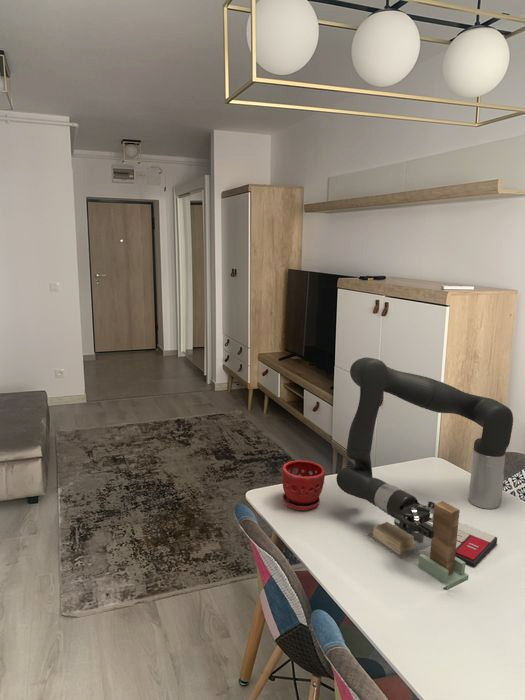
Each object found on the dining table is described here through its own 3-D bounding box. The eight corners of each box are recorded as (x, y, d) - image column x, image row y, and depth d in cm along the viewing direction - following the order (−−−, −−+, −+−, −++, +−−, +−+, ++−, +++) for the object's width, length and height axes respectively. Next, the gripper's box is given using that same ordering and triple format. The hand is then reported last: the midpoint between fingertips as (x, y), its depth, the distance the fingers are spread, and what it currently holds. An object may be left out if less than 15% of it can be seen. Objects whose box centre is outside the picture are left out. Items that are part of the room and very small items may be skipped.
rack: (406, 523, 158) (407, 510, 157) (442, 544, 147) (444, 530, 147) (365, 539, 150) (366, 525, 149) (401, 562, 139) (402, 548, 138)
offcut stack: (388, 530, 152) (389, 520, 151) (415, 547, 144) (416, 537, 143) (372, 536, 149) (372, 526, 148) (399, 554, 140) (399, 544, 140)
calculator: (433, 543, 142) (458, 519, 153) (432, 557, 143) (457, 533, 154) (474, 560, 135) (498, 534, 145) (473, 575, 136) (496, 548, 146)
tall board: (437, 562, 137) (442, 501, 134) (453, 573, 133) (459, 509, 130) (429, 566, 136) (434, 504, 132) (445, 576, 132) (451, 513, 128)
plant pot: (302, 518, 160) (303, 481, 158) (272, 502, 170) (273, 466, 167) (332, 504, 169) (333, 469, 166) (302, 489, 178) (303, 455, 176)
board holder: (435, 559, 141) (436, 544, 140) (468, 579, 133) (469, 564, 132) (414, 568, 137) (415, 553, 136) (446, 590, 128) (448, 574, 128)
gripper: (377, 496, 141) (426, 524, 128) (415, 483, 149) (464, 508, 135) (375, 522, 143) (423, 552, 129) (413, 508, 150) (462, 535, 137)
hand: (444, 530), depth 132 cm, fingers open, 8 cm apart
